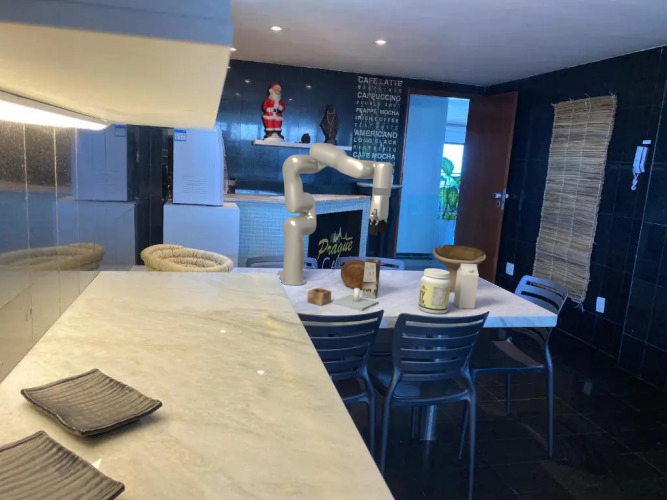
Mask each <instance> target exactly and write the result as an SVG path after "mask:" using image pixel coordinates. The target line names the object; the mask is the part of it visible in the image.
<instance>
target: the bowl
mask: <svg viewBox="0 0 667 500" xmlns="http://www.w3.org/2000/svg"><path fill="white" fill-rule="evenodd" d="M432 253H433V256H434V258H435V260H436V261H437V262H438V263H440V264H441V265H443V266H444V267H445V268H446V271H448V272H449V273H450V274H449V275H450V277H449V279H450V281H451V286H450V293H455V286H456V277H457V270H458V269H459V267H460V266H461V264H477V267H478V266H479V265H481V263H483V261H485V260H486V258H487V256H486V253H485V251H483V250H481V249H479V248H477V247H472V246H468V245H467V246H466V245H456V244H443V245H441V246H440V245H439V246H437V247H434V249H433V250H432Z"/></svg>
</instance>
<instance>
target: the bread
mask: <svg viewBox="0 0 667 500" xmlns="http://www.w3.org/2000/svg"><path fill="white" fill-rule="evenodd" d="M364 269H365V261H364V260H361V259H350V260H349V261H346V262H344V264H343V265H342V267H341V269H340V278H341V280H342V282H343V283H344V285H345V286H346V287H347V288H351V289H353V290H354V288H359V289H360V291H363V280H364Z"/></svg>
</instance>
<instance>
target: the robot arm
mask: <svg viewBox="0 0 667 500" xmlns="http://www.w3.org/2000/svg"><path fill="white" fill-rule="evenodd" d="M308 151H309V154H291V155H290V156H288V157H287V158H285V160H284V161H283V165H282V169H281V170H282V178H283V184H284V185H283V186H284V187H283V188H284V203H285V209H286V211H287V212H288V213H289V214H290V213H291V214H299V215H295V216H294V215H293V216H290V217H287V218H286V219H285V220H284V221H283V225H282V230H283V236H284V237H283V238H284V240H283V241H284V243H283V244H284V245H283V246H284V248H283V267H282V268H283V269H282V270H278V272H277V273H276V275H277V276H280V278H279V279H280V280H281V282H282V283H281V284H283V285H288V286H301V285H304V284H306V282H307V280H306V279H305V278H303V277H304V265H305V246H306V245H305V242H304V237H303V236H309V235H311V234H312V235H313V233H314V232H315V231H316V228H317V210H316V209H317V207H316V200H315V198H314V196H313V195H312V194H311V193H309V192H304V189H303V188H304V187H303V181H302V179H301V176H300V174H315V173H316V174H317V173H318V172H320V171H322V170H323V169H324V168H327V167H330V168H332V169H335V170H337V171H338V172H339V173H342V174H344V175H347V176H349V177H352V178H354V179H359V180H360V179H362V180H367V179H369V180H371V179H372V189H371V191H372V192H371V194H372V195H371V202H370V208H369V214H368V218H369V219H370V220H369V221H370V227H369V228H370V229H369V235H373V236H378V233H386V232H387V225H388V224H387V223H388V216H389V207H390V206H389V204H390V202H389V201H390V200H389V199H390V197H391V192H392V180H393V172H394V171H393V169H394V165H393V164H392V163H391V162H388V161H386V162H385V161H374V160H367V159H357V158H355V157H352V156H349V155H348V154H347V152H346V151H345V150H343V149H340V148H338V147H336V145H334V144H333V143H328V142H326V143H325V142H317V143H314V144H312V145H311V147H310V148H309V150H308ZM386 234H387V233H386Z"/></svg>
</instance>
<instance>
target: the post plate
mask: <svg viewBox="0 0 667 500" xmlns="http://www.w3.org/2000/svg"><path fill="white" fill-rule="evenodd" d="M360 294H361V290H360V289H359V288H354V289H353V294H348V295H347V296H346V295H345V296H344V297H342V298H338V299H336V300H333V301H332V304H333V305H336V306H342V307H345V308H350V309H352V310H357V311H361V312H363V311H365V310H368V309H370V308H372V307H374V305H375V306H376V304H377V305H379V300H378V301H377V300H375V299H371V298H367V297H362V296H360ZM371 306H372V307H371ZM369 307H370V308H369ZM367 308H368V309H367Z"/></svg>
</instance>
